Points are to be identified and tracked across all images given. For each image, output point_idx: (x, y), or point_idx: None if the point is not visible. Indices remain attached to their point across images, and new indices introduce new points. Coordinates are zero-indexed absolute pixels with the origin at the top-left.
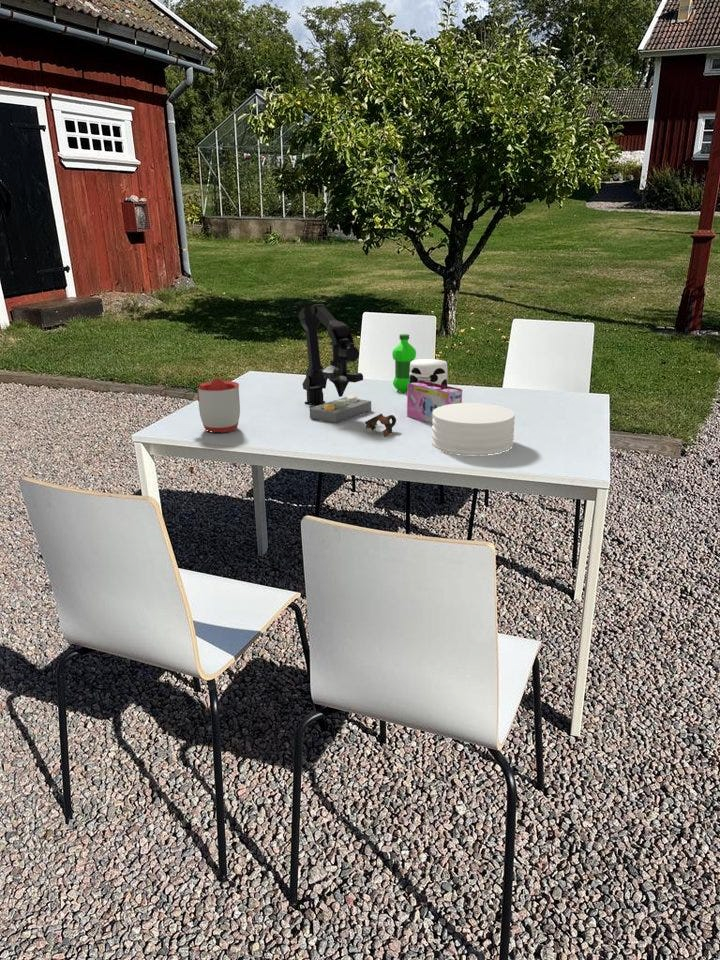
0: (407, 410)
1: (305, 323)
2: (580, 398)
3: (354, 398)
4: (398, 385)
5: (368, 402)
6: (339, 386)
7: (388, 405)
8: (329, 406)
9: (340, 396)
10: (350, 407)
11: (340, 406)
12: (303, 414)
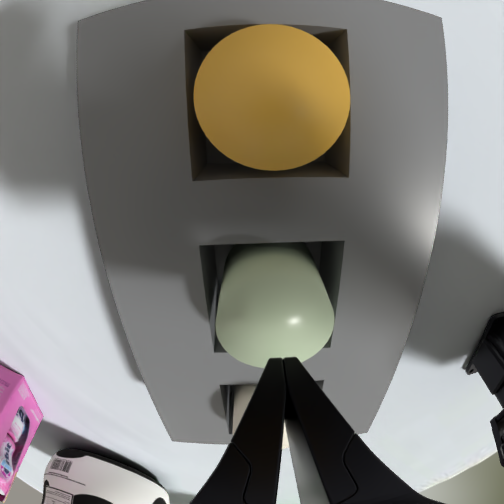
0: (10, 391)
1: None
2: (39, 488)
3: (234, 425)
4: None
5: (165, 425)
6: (269, 486)
7: (195, 456)
8: (217, 44)
9: (270, 359)
10: (122, 274)
11: (241, 262)
12: (486, 118)
